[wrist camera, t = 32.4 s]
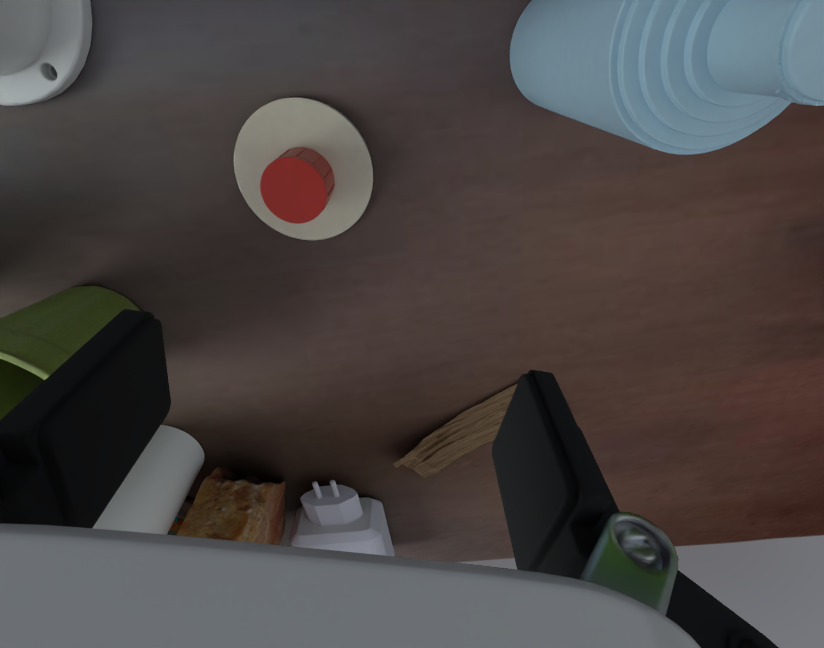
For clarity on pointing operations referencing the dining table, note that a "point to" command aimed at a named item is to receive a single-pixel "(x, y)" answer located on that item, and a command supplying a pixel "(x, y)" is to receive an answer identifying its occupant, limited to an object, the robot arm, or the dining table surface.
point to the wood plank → (459, 436)
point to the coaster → (315, 130)
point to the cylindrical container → (155, 484)
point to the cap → (297, 185)
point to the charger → (341, 522)
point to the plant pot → (50, 337)
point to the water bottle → (671, 65)
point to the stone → (237, 509)
